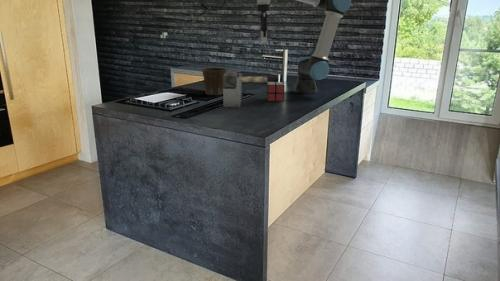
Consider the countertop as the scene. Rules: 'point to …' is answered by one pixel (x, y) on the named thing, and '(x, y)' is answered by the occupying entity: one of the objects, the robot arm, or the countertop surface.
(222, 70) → the plant pot
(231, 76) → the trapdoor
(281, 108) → the countertop surface
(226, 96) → the bracket
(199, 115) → the countertop surface
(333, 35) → the robot arm
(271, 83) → the puzzle cube
